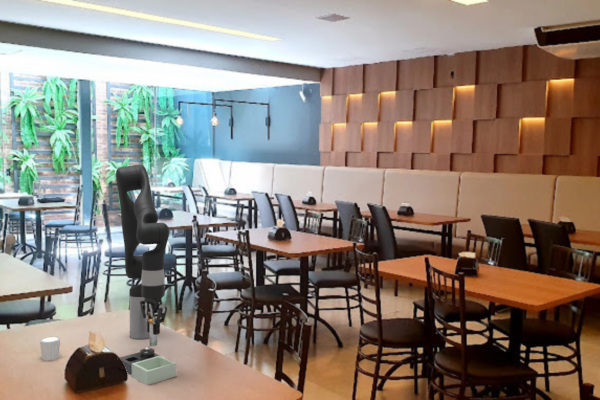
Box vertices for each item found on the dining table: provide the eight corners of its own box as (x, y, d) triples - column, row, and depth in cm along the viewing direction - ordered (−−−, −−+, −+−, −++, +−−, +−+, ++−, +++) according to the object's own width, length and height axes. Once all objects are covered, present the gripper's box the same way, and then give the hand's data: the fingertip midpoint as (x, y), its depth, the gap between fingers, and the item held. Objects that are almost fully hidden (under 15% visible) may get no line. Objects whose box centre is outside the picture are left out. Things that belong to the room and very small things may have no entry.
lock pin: (155, 342, 195) (154, 316, 194) (160, 345, 192) (160, 318, 192) (146, 344, 192) (146, 318, 192) (151, 347, 190) (151, 320, 189)
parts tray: (160, 368, 201) (160, 355, 200) (176, 376, 194) (176, 363, 193) (131, 376, 193) (131, 363, 193) (147, 385, 186) (147, 371, 186)
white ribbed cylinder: (53, 362, 205) (52, 343, 205) (36, 360, 207) (35, 341, 206) (64, 355, 212) (64, 337, 211) (48, 353, 213) (47, 335, 213)
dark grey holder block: (148, 359, 209) (148, 342, 209) (161, 365, 203) (161, 348, 202) (117, 367, 201) (117, 350, 200) (130, 374, 194) (130, 356, 194)
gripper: (174, 284, 189) (174, 335, 190) (151, 277, 198) (152, 326, 200) (154, 287, 183) (154, 340, 185) (132, 280, 193) (132, 330, 194)
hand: (153, 332), depth 192 cm, fingers closed on lock pin, 3 cm apart
